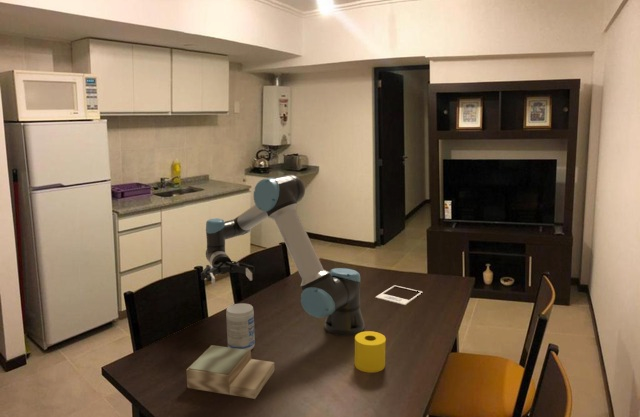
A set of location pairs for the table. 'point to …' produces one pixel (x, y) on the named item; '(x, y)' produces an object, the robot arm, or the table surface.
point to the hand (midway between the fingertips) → (232, 279)
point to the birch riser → (229, 372)
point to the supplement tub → (240, 326)
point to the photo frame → (396, 299)
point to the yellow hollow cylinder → (370, 351)
